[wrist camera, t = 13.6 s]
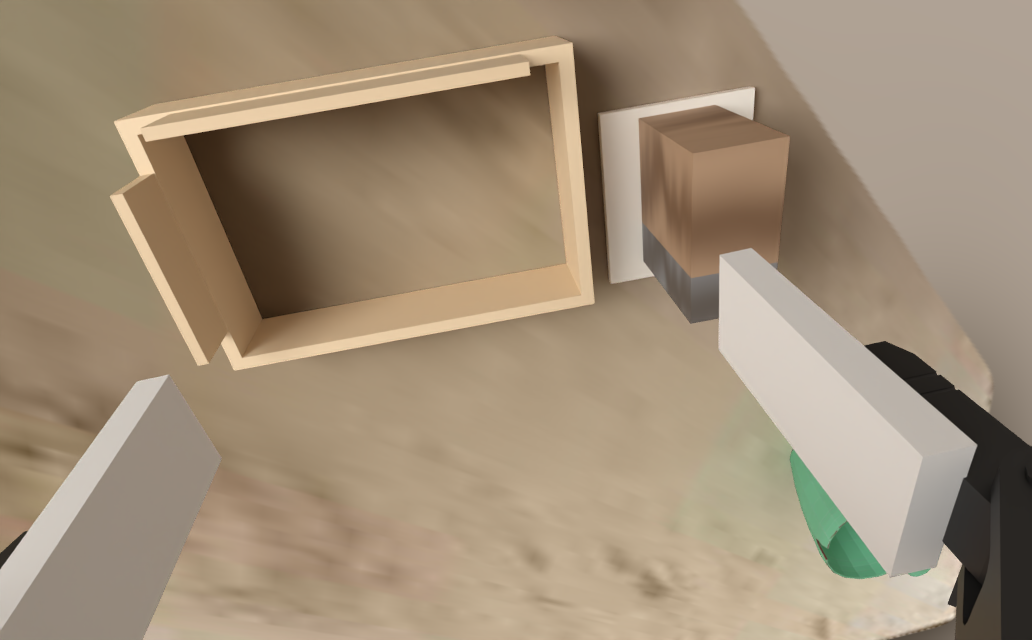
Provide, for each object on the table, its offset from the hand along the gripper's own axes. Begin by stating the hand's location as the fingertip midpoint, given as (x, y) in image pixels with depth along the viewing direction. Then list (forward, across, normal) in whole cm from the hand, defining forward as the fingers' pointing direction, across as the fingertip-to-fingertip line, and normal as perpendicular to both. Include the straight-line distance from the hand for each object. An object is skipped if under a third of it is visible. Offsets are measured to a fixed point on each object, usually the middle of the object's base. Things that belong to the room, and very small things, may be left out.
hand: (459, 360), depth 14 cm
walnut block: (+25, +14, -7) cm, 30 cm away
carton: (+26, -4, -4) cm, 26 cm away
